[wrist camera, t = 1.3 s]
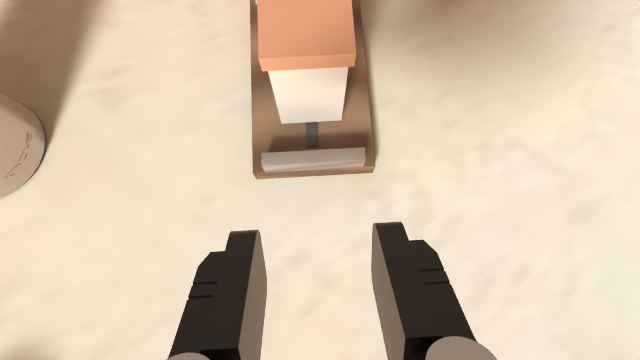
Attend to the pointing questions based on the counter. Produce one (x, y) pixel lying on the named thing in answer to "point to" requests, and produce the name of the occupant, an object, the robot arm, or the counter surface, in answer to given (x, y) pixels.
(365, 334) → the counter surface
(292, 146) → the fader console
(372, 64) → the counter surface
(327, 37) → the fader knob
